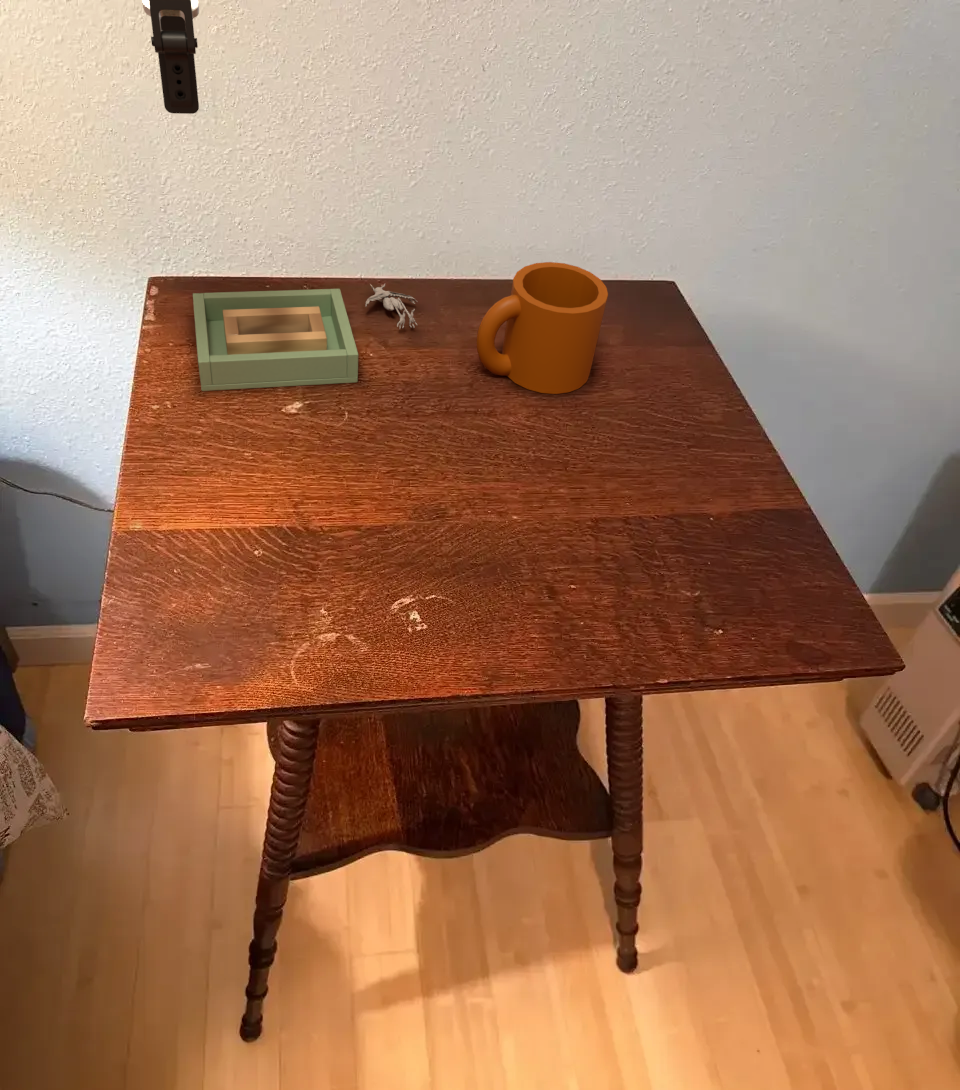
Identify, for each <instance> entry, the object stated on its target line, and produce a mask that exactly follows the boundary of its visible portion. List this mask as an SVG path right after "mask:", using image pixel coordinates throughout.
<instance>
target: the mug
mask: <svg viewBox="0 0 960 1090" xmlns="http://www.w3.org/2000/svg"><path fill="white" fill-rule="evenodd" d="M608 297H609V292H608V288H607V286H606V285H605V283H604V282H603V280H601V278H599V277H598V276H596V275H595V274H594V273H592V272H591V271H589V270H586V269H584V268H582V267H579V266H576V265H574V264H573V265H572V264H568V263H564V262H555V261H554V262H553V261H546V262H535V263H532V264H528V265H525V266H523V267H521V268H520V269H519V270H518V271H516V273H515V275H514V277H513V278H512V283H511V291H510V295H508V296H505V297H503V298H501V299H499V300H498V301H496V302H495V303H493V305H492V306H490V308H489V309H488V310H487V311H486V313H485V314H484V316H483V317H482V319H481V322H480V324H479V327H478V328H477V333H476V339H475V341H476V351H477V355H478V357H479V361H480V362H481V364H482V365H483V368H485V369H486V370H487V371H489V372H490V373H492V374H494V375H496V376H501V377H502V376H504V377H505V376H506V377H507V378H509V379H510V380H511V381H512V382H513V383H514V384H516V385H518V386H520V387H522V388H524V389H525V390H530V391H532V392H536V393H541V394H551V395H558V394H559V395H560V394H566V393H567V394H568V393H571V392H573V391H576V390H579V389H580V388H582V387H583V386H584V385H585V384H586V383H588V380H589V378H590V377H589V376H590V374H591V369H592V366H593V361H594V357H595V353H596V348H597V344H598V340H599V335H600V331H601V327H602V323H603V318H604V315H605V310H606V306H607V301H608ZM504 324H505V330H504V337H503V343H502V350H501V353H500V352H499V351H498V350H497V348H496V344H495V341H496V336H497V333H498V331H499V330H500V328H501V327H502V326H503V325H504Z"/></svg>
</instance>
